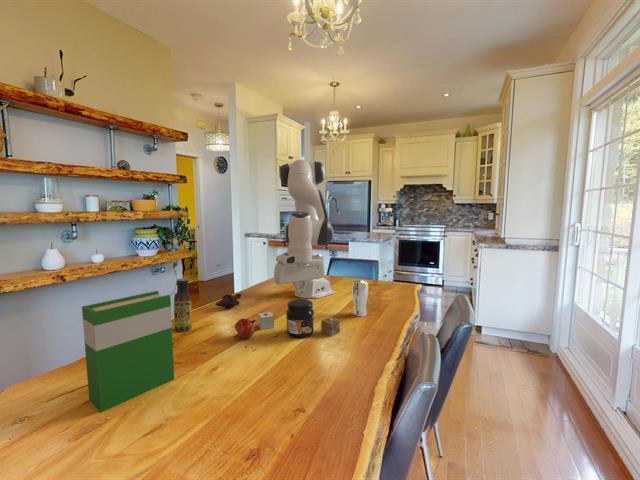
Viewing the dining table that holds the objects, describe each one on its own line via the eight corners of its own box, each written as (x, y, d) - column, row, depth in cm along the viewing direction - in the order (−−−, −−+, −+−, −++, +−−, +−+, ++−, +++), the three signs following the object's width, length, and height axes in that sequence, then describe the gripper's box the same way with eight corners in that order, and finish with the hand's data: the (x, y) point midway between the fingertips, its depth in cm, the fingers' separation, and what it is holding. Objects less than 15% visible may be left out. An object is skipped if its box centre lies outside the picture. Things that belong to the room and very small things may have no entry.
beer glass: (367, 311, 143) (368, 279, 141) (368, 317, 136) (368, 283, 135) (351, 311, 144) (352, 279, 142) (352, 316, 137) (352, 283, 135)
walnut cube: (329, 329, 123) (329, 316, 123) (339, 332, 120) (339, 319, 119) (321, 333, 119) (321, 319, 119) (331, 336, 116) (331, 323, 116)
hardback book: (160, 370, 91) (156, 290, 89) (174, 379, 87) (170, 295, 84) (89, 400, 77) (81, 306, 75) (100, 412, 73) (93, 313, 70)
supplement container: (288, 340, 112) (288, 308, 111) (284, 329, 123) (284, 299, 121) (317, 337, 115) (317, 305, 114) (310, 326, 125) (310, 297, 124)
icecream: (222, 300, 137) (246, 295, 150) (211, 294, 141) (236, 289, 154) (219, 315, 138) (243, 308, 151) (208, 308, 142) (233, 302, 155)
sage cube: (270, 323, 128) (270, 311, 128) (274, 328, 124) (273, 315, 123) (258, 325, 126) (258, 313, 126) (261, 330, 122) (261, 317, 121)
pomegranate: (236, 348, 111) (258, 332, 110) (223, 331, 111) (246, 315, 110) (242, 341, 118) (263, 326, 118) (231, 326, 118) (251, 310, 118)
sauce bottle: (173, 333, 117) (170, 281, 115) (175, 327, 123) (173, 278, 121) (191, 331, 119) (189, 280, 117) (193, 325, 125) (191, 277, 123)
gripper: (318, 252, 124) (318, 286, 126) (271, 257, 112) (272, 294, 114) (327, 254, 119) (327, 290, 120) (279, 260, 107) (280, 299, 109)
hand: (300, 292), depth 117 cm, fingers closed
